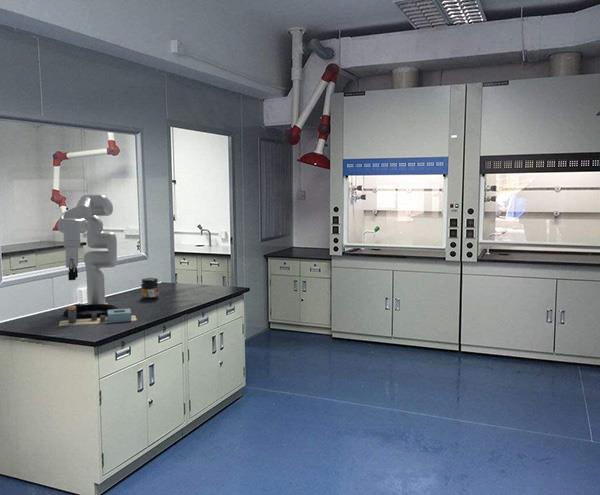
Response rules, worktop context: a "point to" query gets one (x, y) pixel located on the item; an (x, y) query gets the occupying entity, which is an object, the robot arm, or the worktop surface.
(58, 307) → the worktop surface
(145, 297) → the supplement container
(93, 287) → the robot arm
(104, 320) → the board
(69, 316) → the connector plug
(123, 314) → the end holder
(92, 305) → the cable lock
